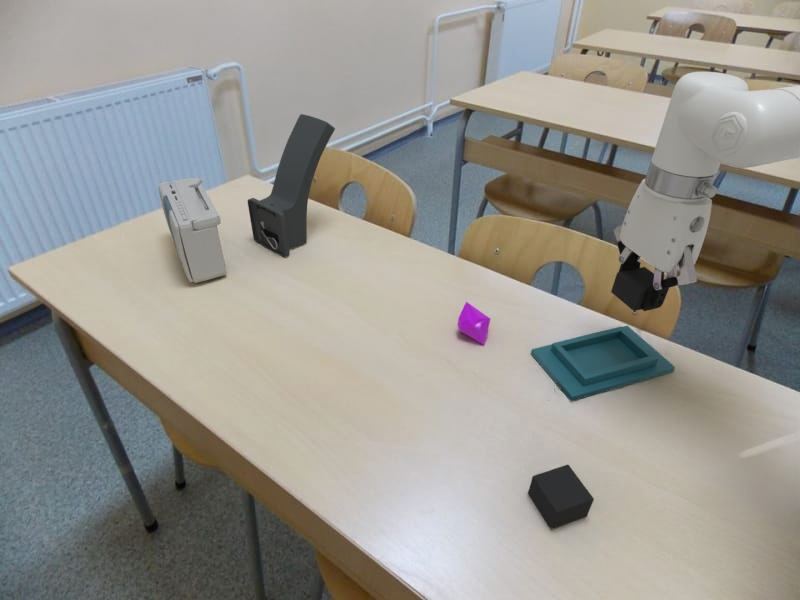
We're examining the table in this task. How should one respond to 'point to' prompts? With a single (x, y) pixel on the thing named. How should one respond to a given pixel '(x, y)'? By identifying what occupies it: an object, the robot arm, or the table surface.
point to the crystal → (473, 323)
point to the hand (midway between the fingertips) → (636, 295)
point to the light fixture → (290, 188)
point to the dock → (600, 362)
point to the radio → (193, 228)
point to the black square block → (560, 496)
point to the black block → (632, 286)
